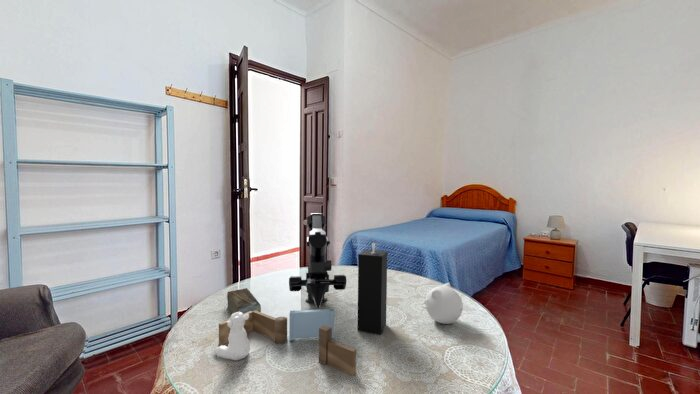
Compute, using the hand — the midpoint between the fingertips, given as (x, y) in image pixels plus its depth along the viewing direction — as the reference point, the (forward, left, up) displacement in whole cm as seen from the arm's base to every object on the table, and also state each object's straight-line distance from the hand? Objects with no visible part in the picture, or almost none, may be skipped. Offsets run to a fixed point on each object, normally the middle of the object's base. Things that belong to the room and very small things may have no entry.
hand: (318, 307), depth 95 cm
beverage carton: (+5, -31, -8) cm, 33 cm away
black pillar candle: (-13, +12, -8) cm, 19 cm away
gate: (+4, +1, -7) cm, 9 cm away
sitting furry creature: (+22, -10, -8) cm, 26 cm away
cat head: (-31, +30, -8) cm, 44 cm away
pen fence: (+15, +1, -8) cm, 17 cm away
